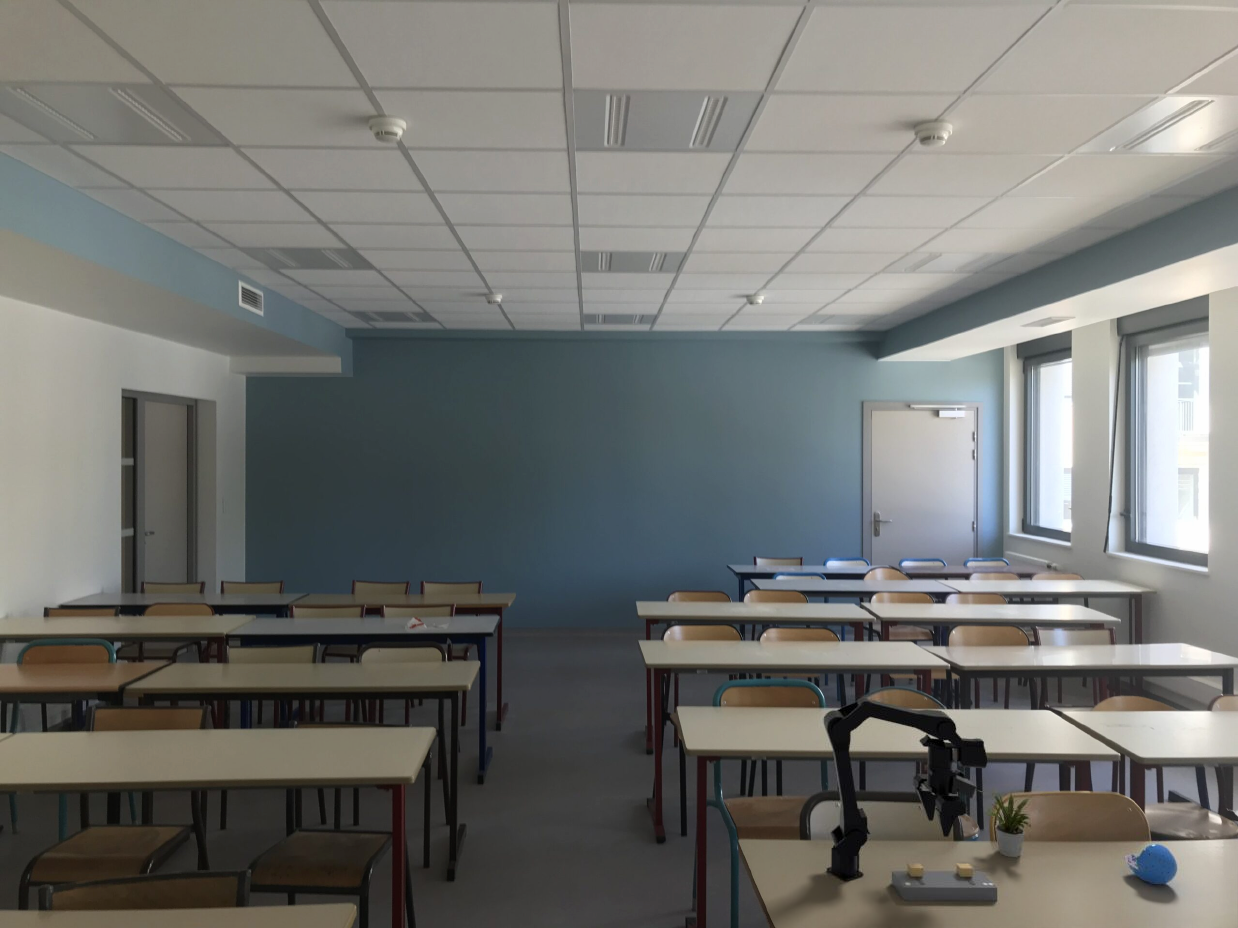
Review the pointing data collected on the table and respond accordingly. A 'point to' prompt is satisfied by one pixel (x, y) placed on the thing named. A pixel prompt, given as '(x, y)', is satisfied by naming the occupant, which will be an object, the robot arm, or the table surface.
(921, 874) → the outlet switch
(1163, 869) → the cell model
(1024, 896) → the table surface
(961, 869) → the outlet switch
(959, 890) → the grey slider switch box
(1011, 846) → the house plant
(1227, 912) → the table surface
